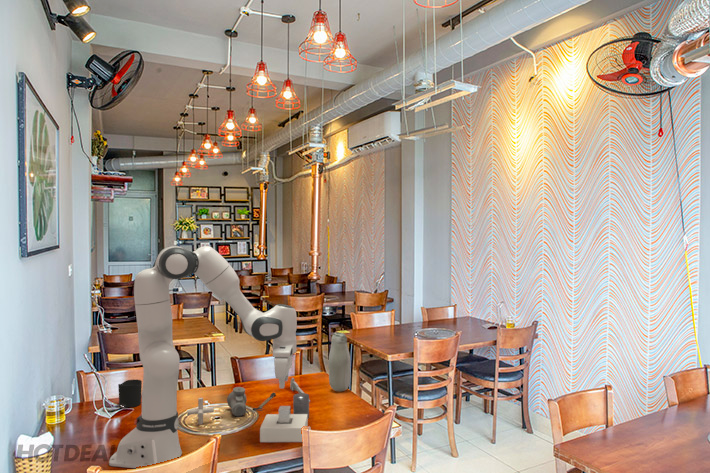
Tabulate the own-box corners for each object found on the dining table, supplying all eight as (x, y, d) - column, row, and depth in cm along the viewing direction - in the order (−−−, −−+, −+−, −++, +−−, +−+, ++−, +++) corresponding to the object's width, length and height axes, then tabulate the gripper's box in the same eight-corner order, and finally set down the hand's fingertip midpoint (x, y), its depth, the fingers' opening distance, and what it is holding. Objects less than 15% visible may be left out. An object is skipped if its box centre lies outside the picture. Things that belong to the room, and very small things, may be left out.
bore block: (260, 442, 175) (260, 428, 175) (266, 427, 189) (266, 414, 189) (304, 441, 176) (304, 428, 176) (307, 426, 190) (307, 414, 190)
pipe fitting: (226, 407, 210) (228, 384, 209) (245, 407, 213) (247, 384, 212) (227, 420, 199) (230, 396, 198) (247, 419, 201) (250, 396, 200)
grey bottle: (353, 389, 236) (353, 332, 236) (342, 395, 227) (342, 335, 227) (336, 386, 241) (336, 330, 241) (325, 391, 232) (324, 333, 233)
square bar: (278, 436, 180) (278, 409, 180) (280, 432, 184) (280, 406, 184) (289, 436, 180) (289, 409, 180) (290, 432, 184) (290, 405, 184)
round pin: (292, 420, 196) (292, 398, 196) (294, 414, 203) (294, 393, 203) (308, 420, 196) (308, 398, 196) (309, 414, 203) (309, 393, 203)
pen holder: (116, 404, 216) (116, 381, 216) (138, 400, 221) (138, 378, 221) (120, 410, 208) (120, 387, 208) (144, 405, 214) (144, 383, 214)
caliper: (290, 390, 236) (290, 377, 236) (292, 390, 236) (292, 376, 236) (308, 402, 218) (308, 388, 218) (310, 402, 219) (310, 388, 219)
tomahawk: (266, 414, 207) (267, 411, 206) (252, 411, 208) (252, 408, 208) (285, 396, 228) (285, 394, 227) (271, 394, 229) (271, 392, 229)
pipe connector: (186, 429, 187) (186, 403, 187) (188, 420, 197) (188, 395, 197) (213, 426, 190) (213, 401, 190) (213, 417, 199) (213, 393, 199)
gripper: (280, 341, 193) (279, 376, 193) (271, 353, 172) (271, 392, 172) (296, 341, 193) (295, 376, 193) (289, 353, 172) (288, 392, 172)
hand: (283, 384), depth 182 cm, fingers open, 8 cm apart
